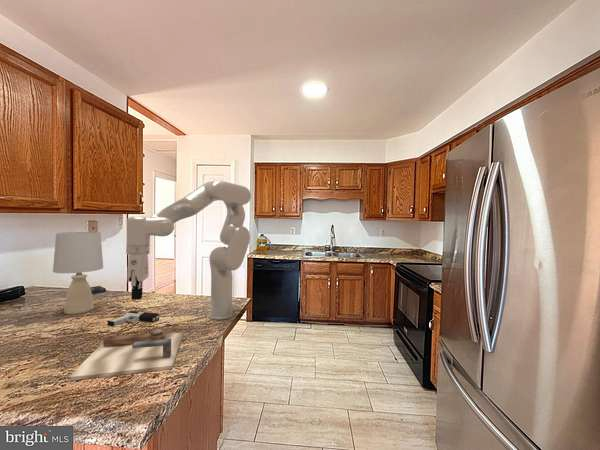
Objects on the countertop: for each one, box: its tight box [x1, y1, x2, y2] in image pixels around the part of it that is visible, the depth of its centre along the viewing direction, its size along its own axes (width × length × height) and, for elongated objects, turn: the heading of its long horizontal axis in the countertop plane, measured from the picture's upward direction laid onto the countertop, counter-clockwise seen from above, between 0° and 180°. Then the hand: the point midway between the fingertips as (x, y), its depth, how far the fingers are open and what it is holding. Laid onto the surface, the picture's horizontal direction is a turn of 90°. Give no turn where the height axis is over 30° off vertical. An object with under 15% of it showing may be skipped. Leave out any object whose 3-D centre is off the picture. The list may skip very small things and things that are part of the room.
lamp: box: [52, 231, 104, 315], centre depth 132 cm, size 19×19×37 cm
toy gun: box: [107, 310, 160, 327], centre depth 119 cm, size 3×16×12 cm
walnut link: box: [102, 331, 167, 346], centre depth 98 cm, size 19×4×2 cm, turn 105°
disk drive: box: [90, 285, 107, 295], centre depth 162 cm, size 10×3×15 cm
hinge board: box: [68, 328, 184, 382], centre depth 92 cm, size 26×25×6 cm
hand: (136, 298), depth 104 cm, fingers closed
